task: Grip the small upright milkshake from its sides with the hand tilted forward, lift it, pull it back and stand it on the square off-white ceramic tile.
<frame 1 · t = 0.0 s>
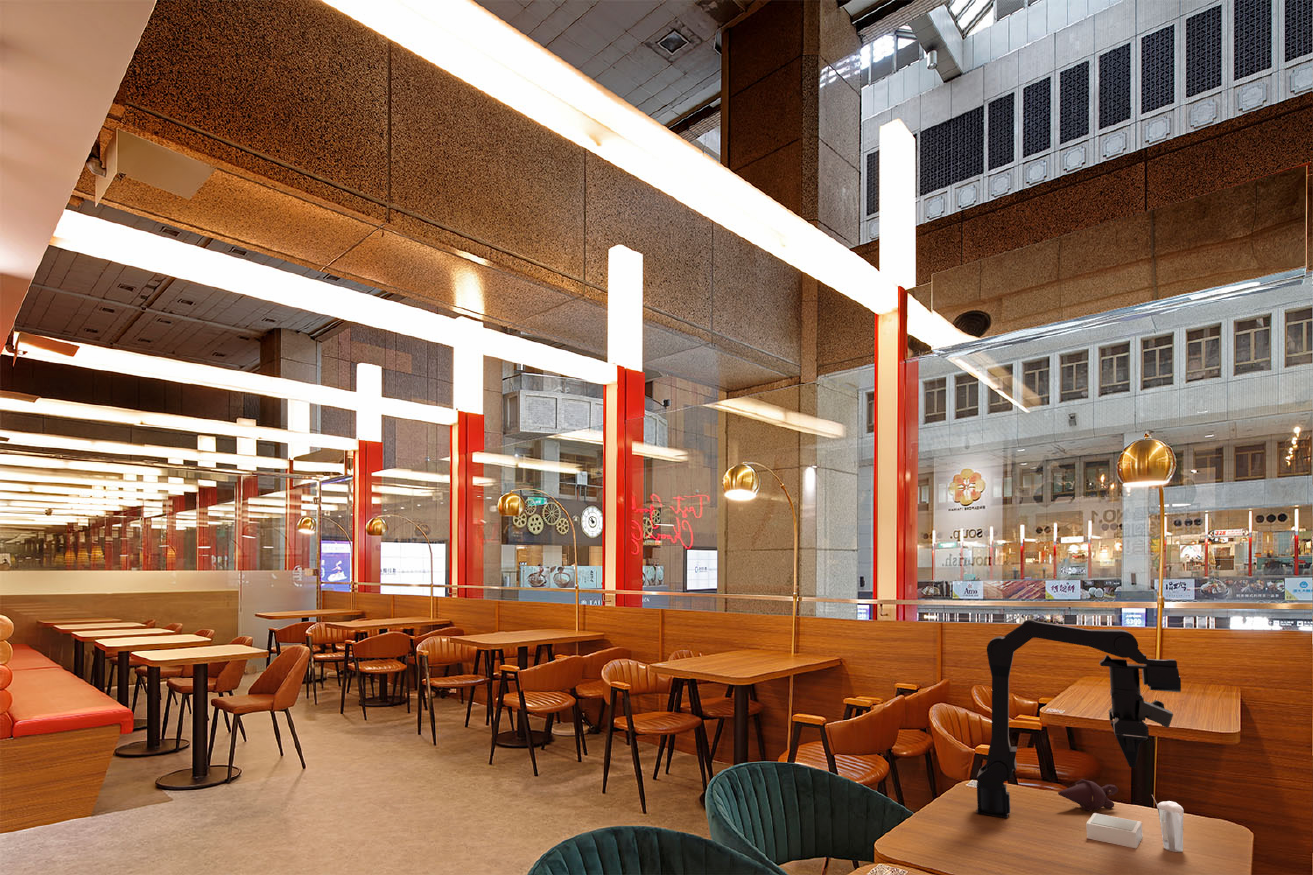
hand: (1130, 762, 172), 15 cm above the table, tool pointing down, fingers open, 9 cm apart
tile base: (1114, 837, 167), on the table
milkshake: (1171, 849, 161), on the table
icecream: (1088, 810, 185), on the table
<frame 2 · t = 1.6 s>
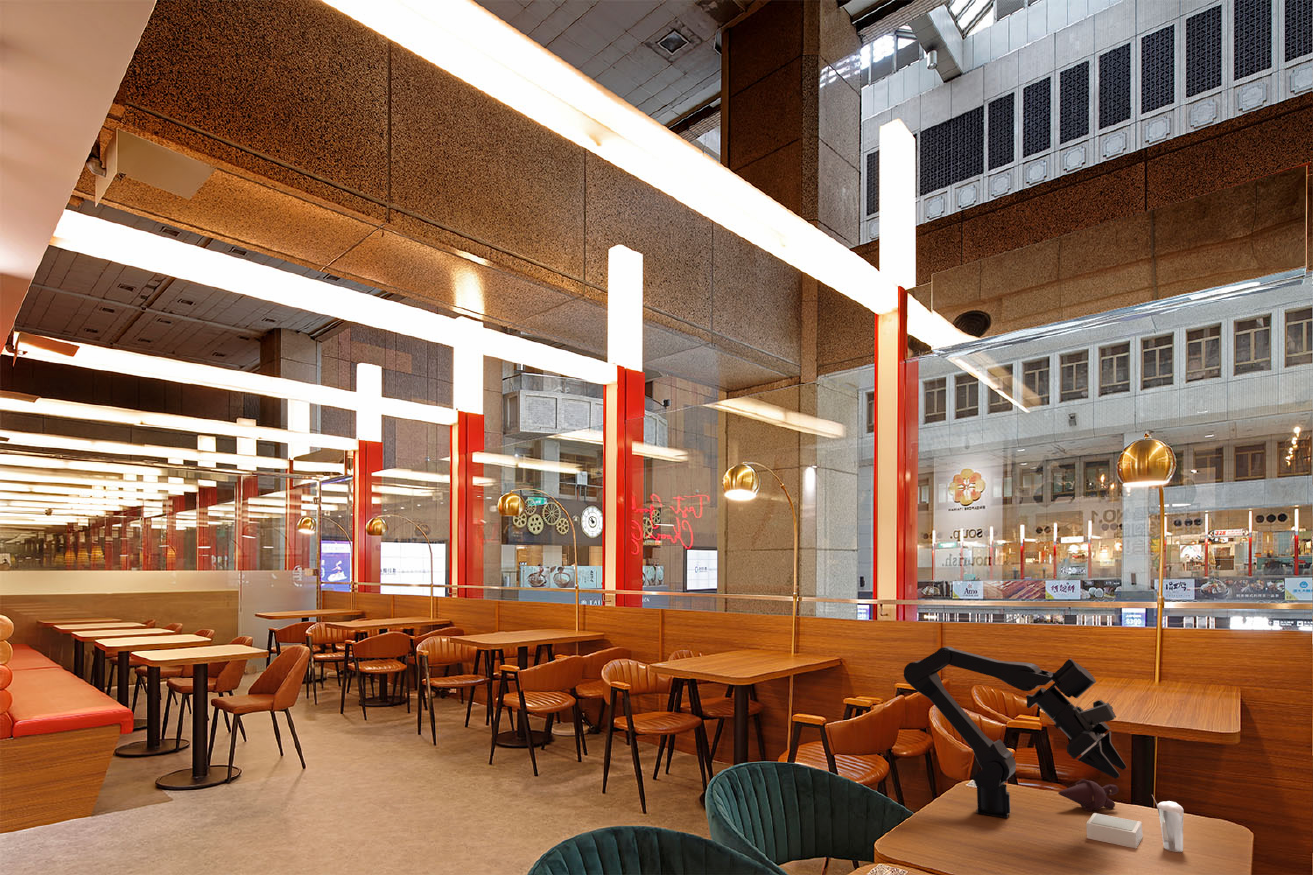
hand: (1121, 772, 167), 13 cm above the table, tool tilted 45°, fingers open, 9 cm apart
nothing on the table moved.
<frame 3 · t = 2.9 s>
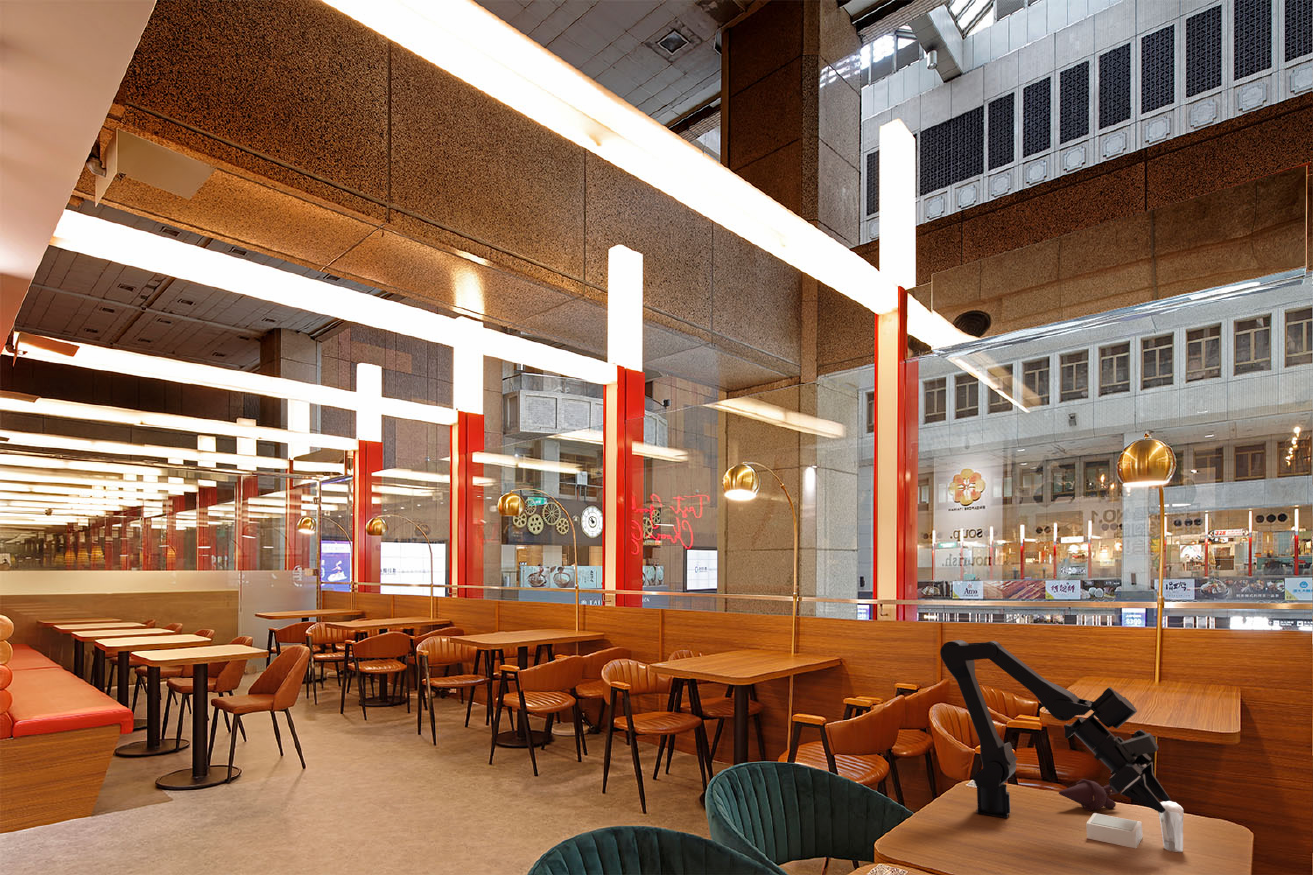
hand: (1166, 806, 162), 8 cm above the table, tool tilted 45°, fingers open, 9 cm apart
nothing on the table moved.
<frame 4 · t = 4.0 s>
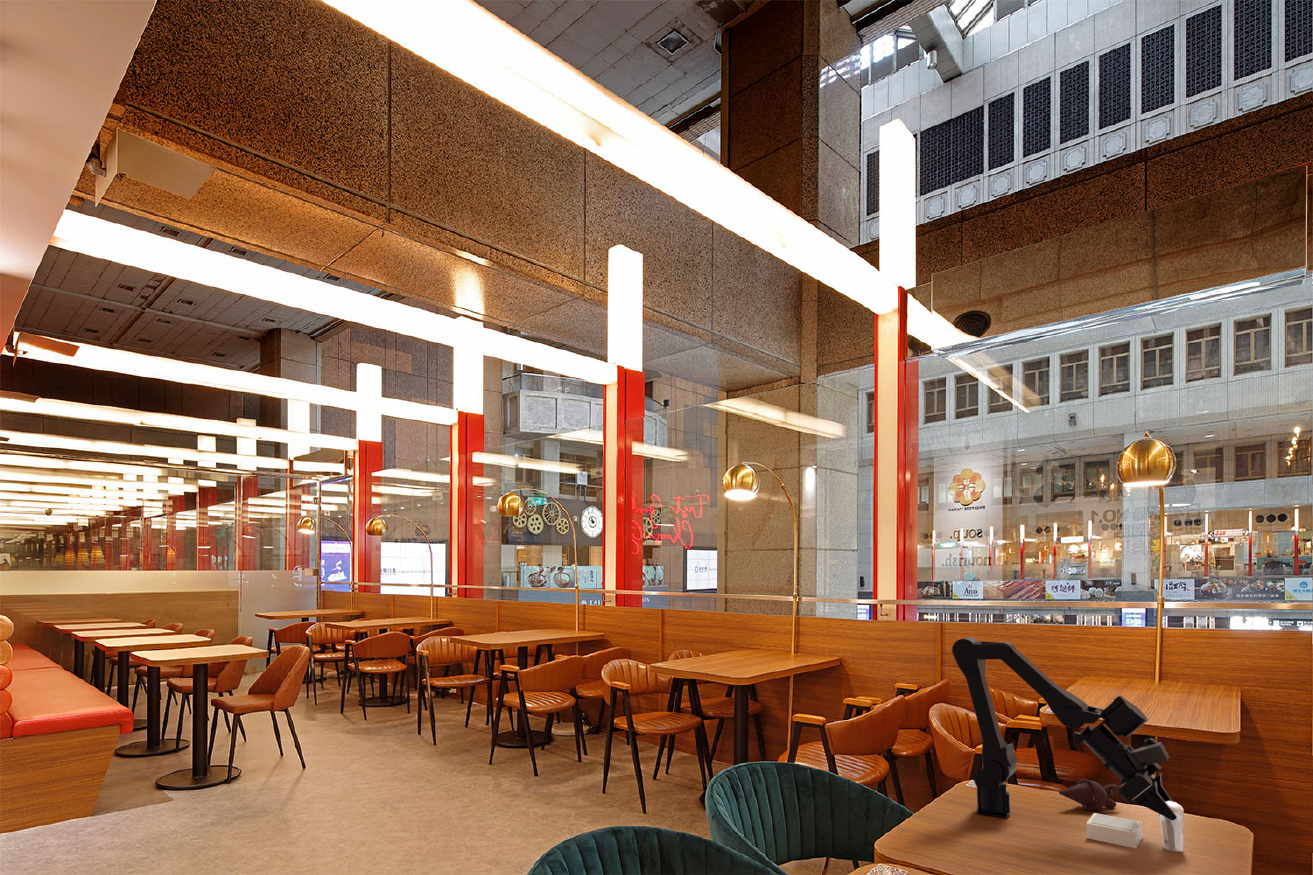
hand: (1176, 816, 161), 7 cm above the table, tool tilted 45°, fingers closed on milkshake, 4 cm apart
milkshake: (1171, 849, 161), on the table, touching gripper
everything else where it was.
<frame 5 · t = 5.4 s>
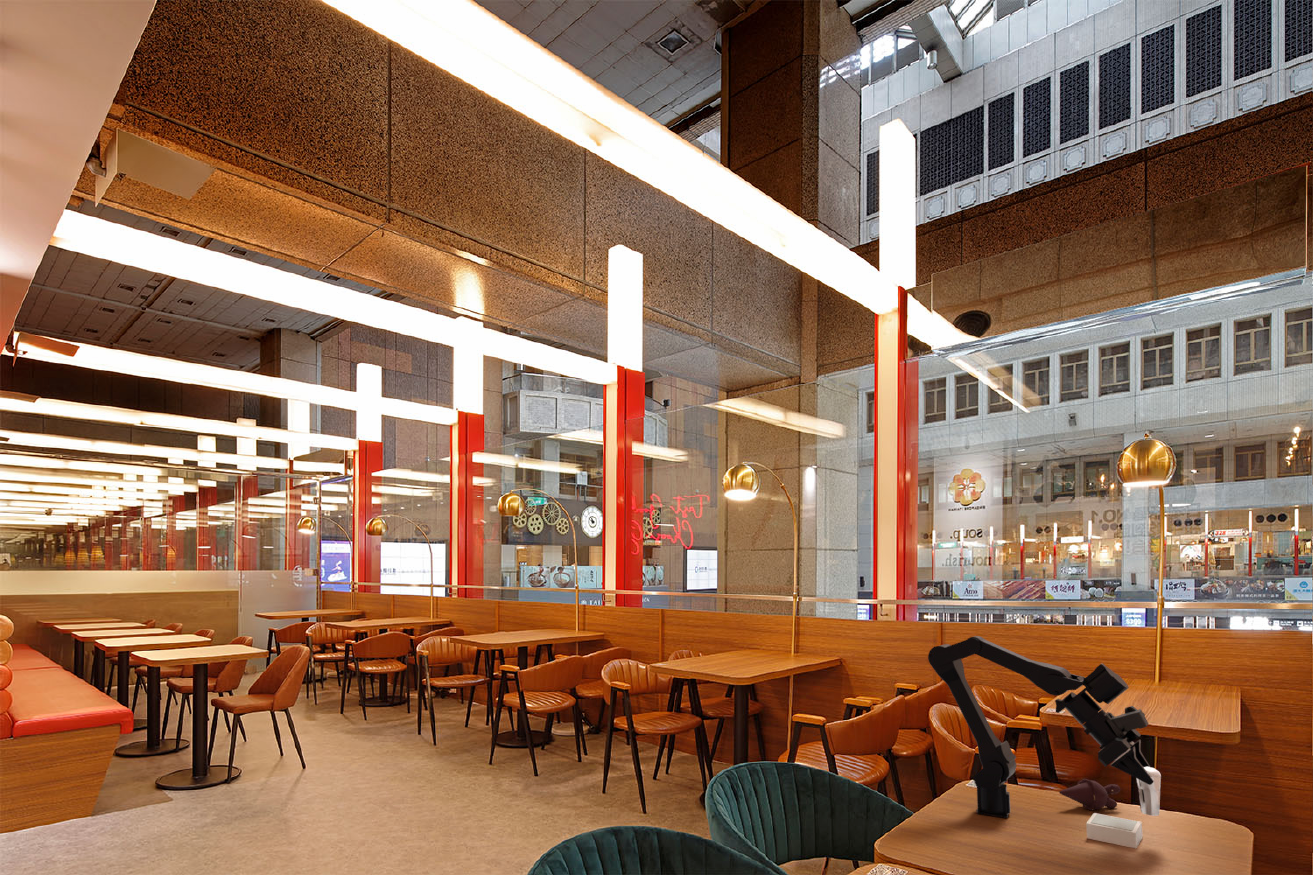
hand: (1153, 781, 164), 13 cm above the table, tool tilted 45°, fingers closed on milkshake, 4 cm apart
milkshake: (1147, 813, 164), point 6 cm above the table, touching gripper
everything else where it was.
when the fingers open (11 cm above the table, at t = 6.8 s): milkshake stays where it is, resting on tile base.
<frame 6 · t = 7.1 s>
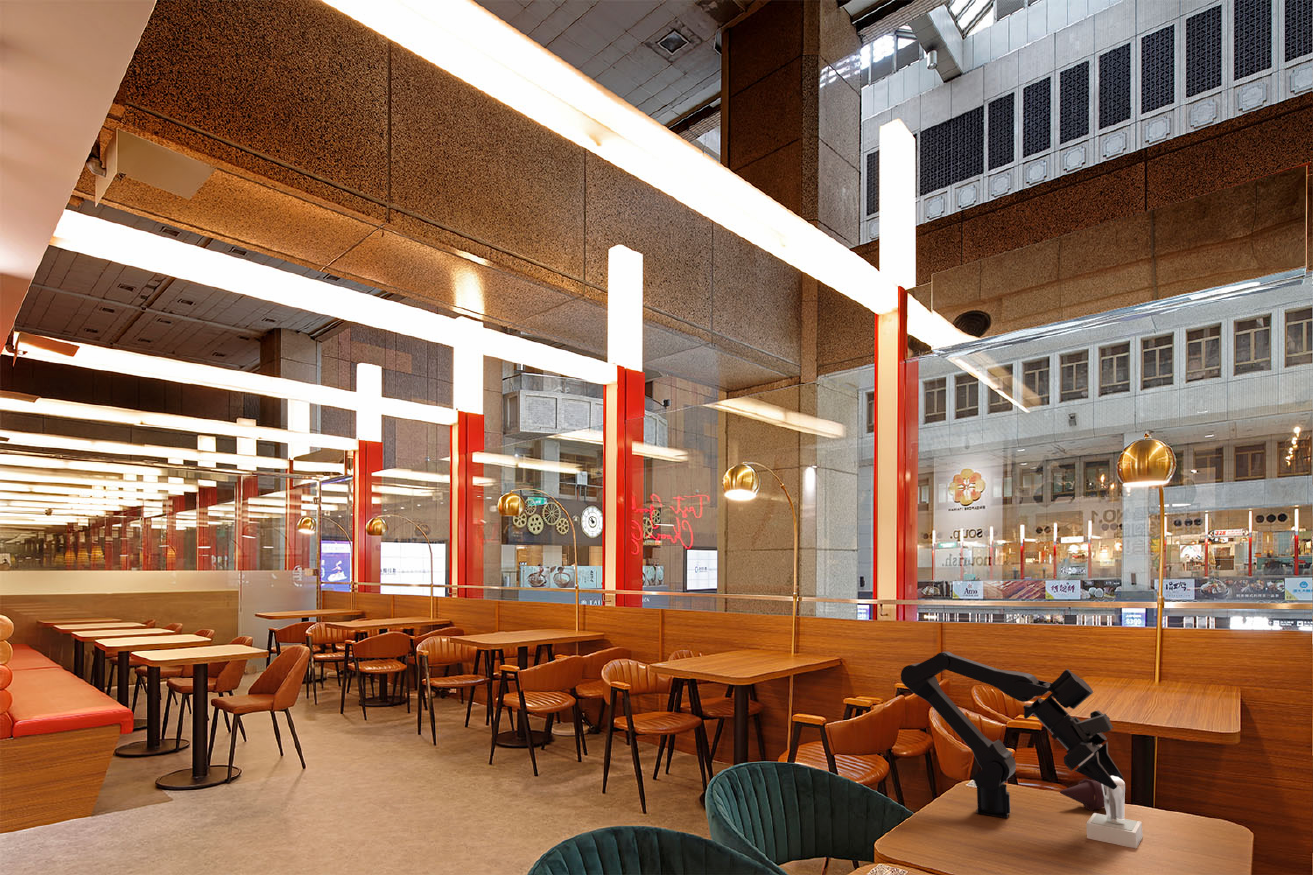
hand: (1118, 783, 168), 11 cm above the table, tool tilted 45°, fingers open, 8 cm apart
milkshake: (1113, 822, 167), point 3 cm above the table, touching tile base
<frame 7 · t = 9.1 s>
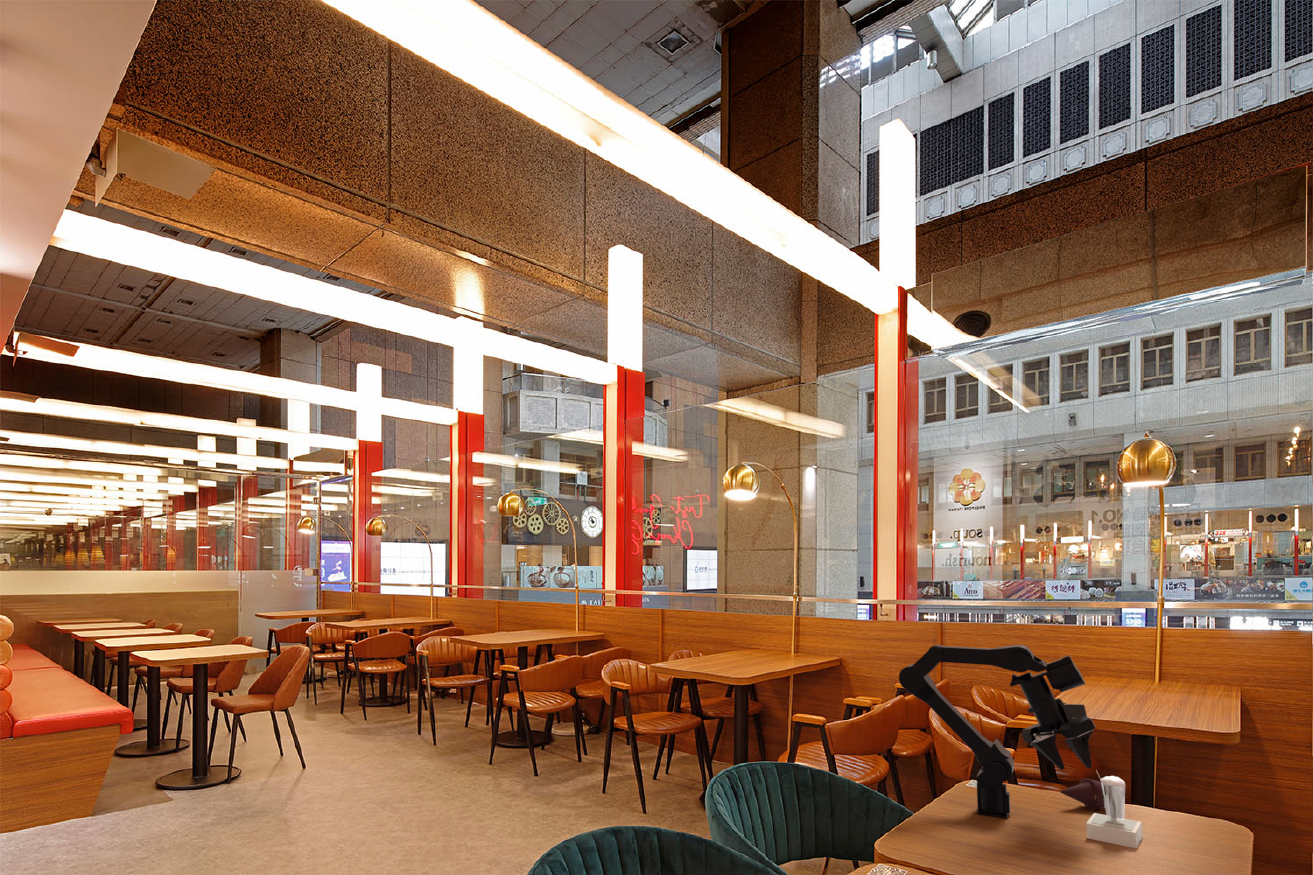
hand: (1076, 768, 175), 12 cm above the table, tool tilted 25°, fingers open, 9 cm apart
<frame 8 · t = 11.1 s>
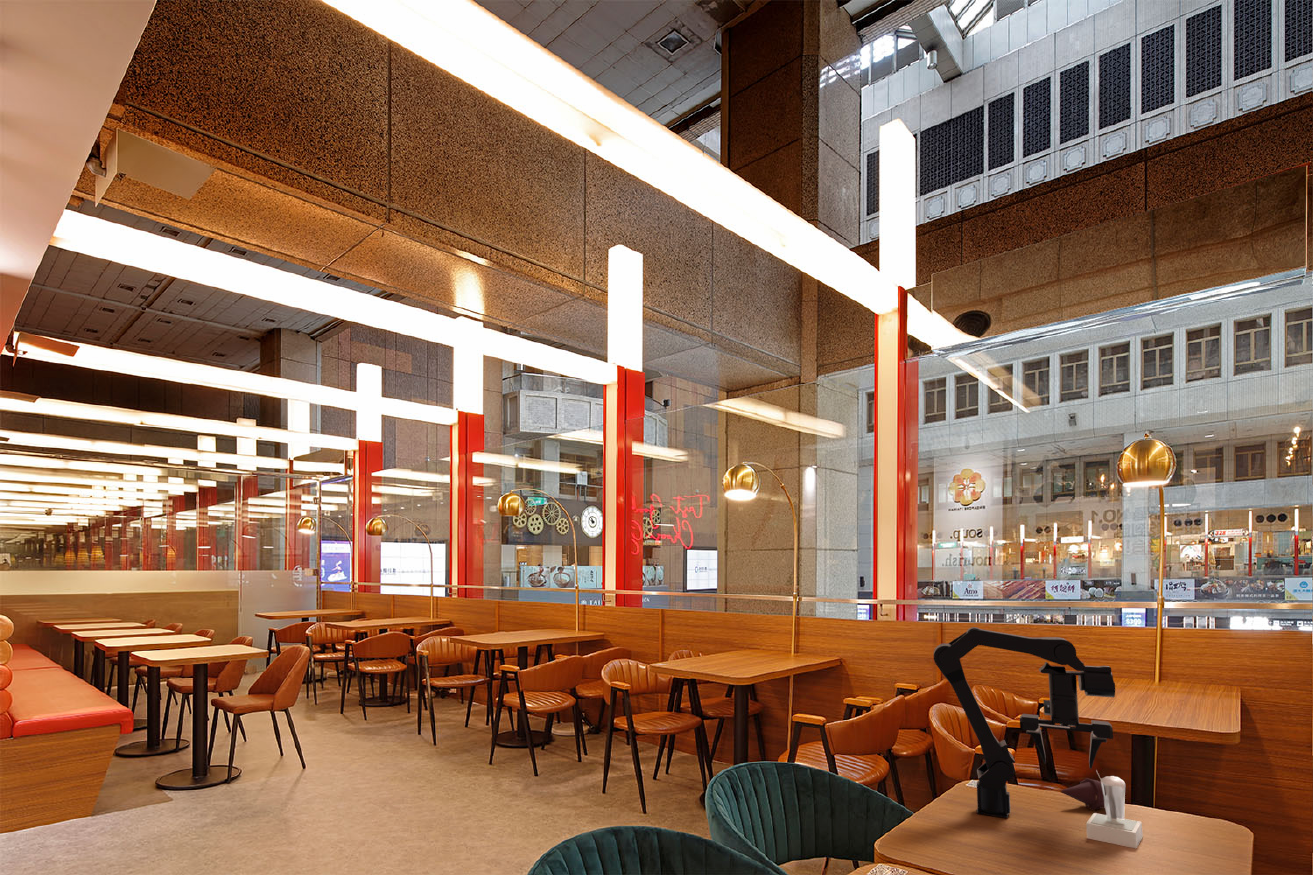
hand: (1067, 765, 178), 12 cm above the table, tool pointing down, fingers open, 9 cm apart
at the end: milkshake inside the target area on the tile base (0.1 cm from its centre), point 3.0 cm above the tile base's base; milkshake tilted 0°; the gripper is holding nothing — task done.
